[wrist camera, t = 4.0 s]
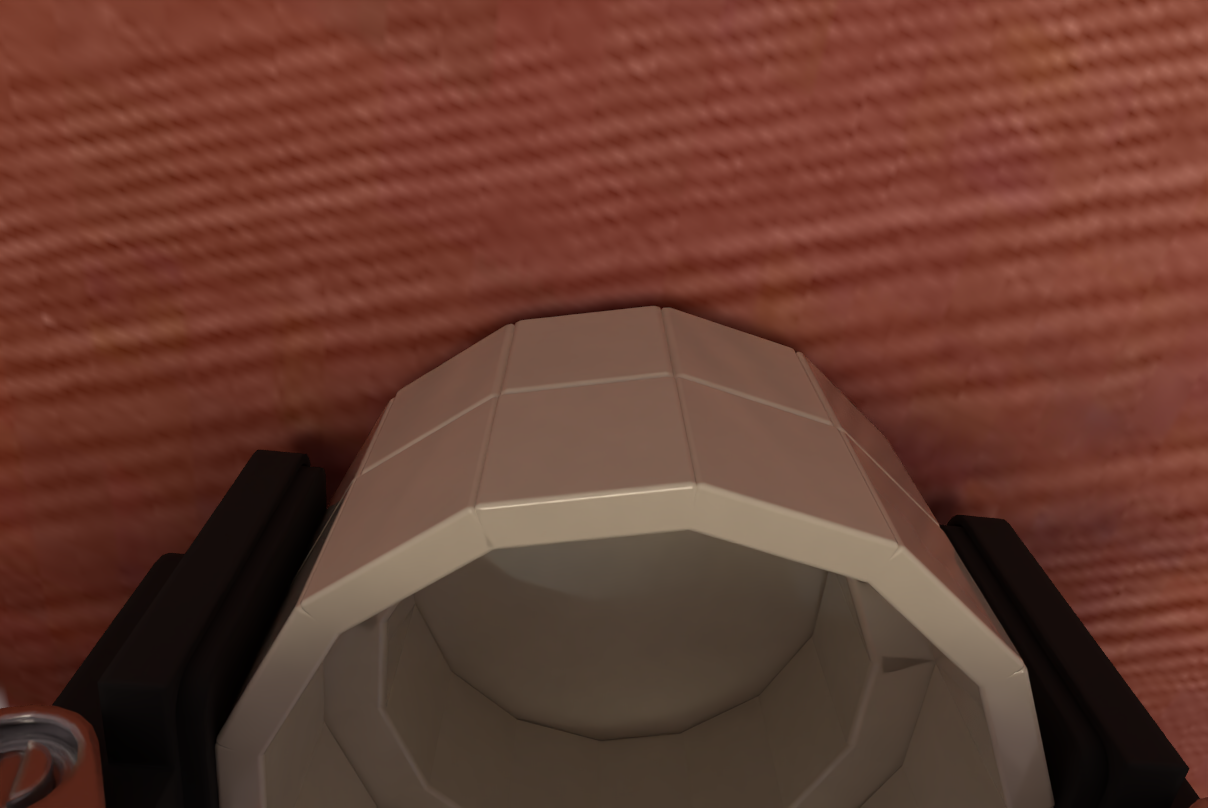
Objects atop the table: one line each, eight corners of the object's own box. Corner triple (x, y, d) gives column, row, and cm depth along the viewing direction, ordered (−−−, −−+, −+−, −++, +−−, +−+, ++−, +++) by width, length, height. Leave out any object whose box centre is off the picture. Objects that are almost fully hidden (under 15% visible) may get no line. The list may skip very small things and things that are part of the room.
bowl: (342, 747, 13) (238, 1079, 10) (341, 255, 11) (188, 437, 7) (830, 784, 14) (926, 1117, 10) (963, 321, 11) (1177, 528, 7)
